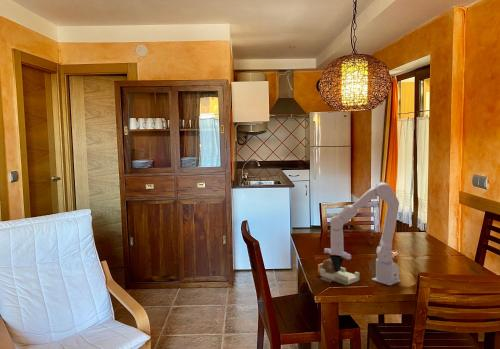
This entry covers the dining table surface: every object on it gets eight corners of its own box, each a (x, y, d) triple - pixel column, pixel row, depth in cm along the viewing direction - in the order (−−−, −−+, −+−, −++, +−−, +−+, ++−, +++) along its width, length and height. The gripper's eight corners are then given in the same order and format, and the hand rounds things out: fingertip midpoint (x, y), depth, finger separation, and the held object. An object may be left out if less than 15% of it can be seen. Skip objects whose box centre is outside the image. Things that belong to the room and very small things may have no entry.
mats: (360, 277, 179) (360, 276, 179) (338, 285, 170) (338, 284, 170) (341, 271, 188) (341, 271, 188) (319, 278, 179) (319, 278, 179)
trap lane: (359, 280, 175) (359, 269, 175) (346, 285, 170) (346, 273, 170) (331, 270, 189) (331, 260, 189) (318, 275, 184) (317, 264, 183)
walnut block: (338, 271, 183) (338, 260, 182) (331, 273, 180) (331, 263, 179) (330, 268, 187) (330, 258, 186) (323, 270, 184) (323, 260, 183)
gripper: (319, 240, 182) (319, 268, 183) (343, 246, 170) (344, 277, 172) (329, 238, 186) (330, 265, 187) (354, 243, 175) (354, 273, 176)
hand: (337, 270), depth 180 cm, fingers closed
